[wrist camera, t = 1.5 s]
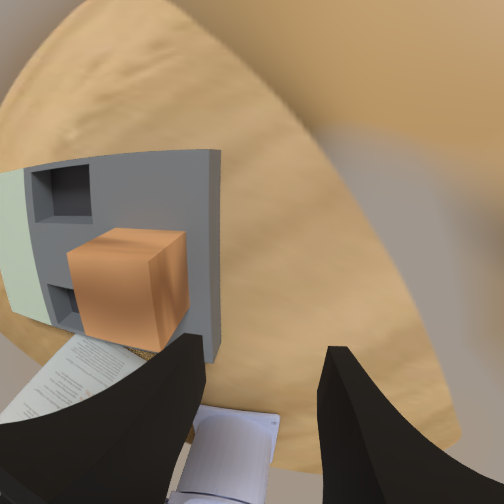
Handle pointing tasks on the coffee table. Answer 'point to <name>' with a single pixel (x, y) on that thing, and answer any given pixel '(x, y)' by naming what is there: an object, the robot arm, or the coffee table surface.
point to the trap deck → (105, 219)
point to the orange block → (132, 286)
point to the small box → (72, 377)
